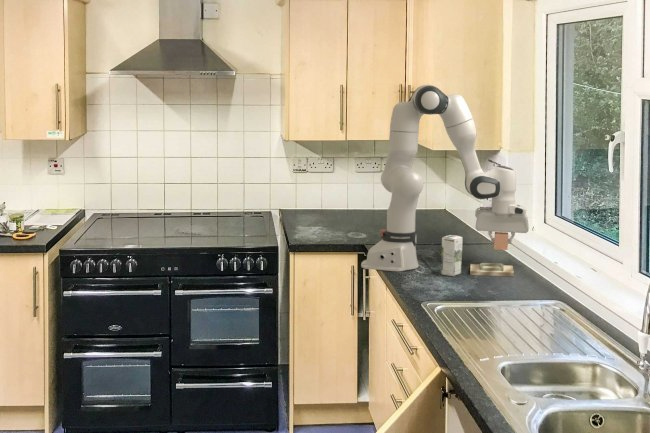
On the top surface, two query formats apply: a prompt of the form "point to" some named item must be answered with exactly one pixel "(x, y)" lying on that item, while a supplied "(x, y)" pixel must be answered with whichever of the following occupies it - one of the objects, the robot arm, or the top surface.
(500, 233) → the block
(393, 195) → the robot arm
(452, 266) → the syrup box
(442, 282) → the top surface
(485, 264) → the build board
